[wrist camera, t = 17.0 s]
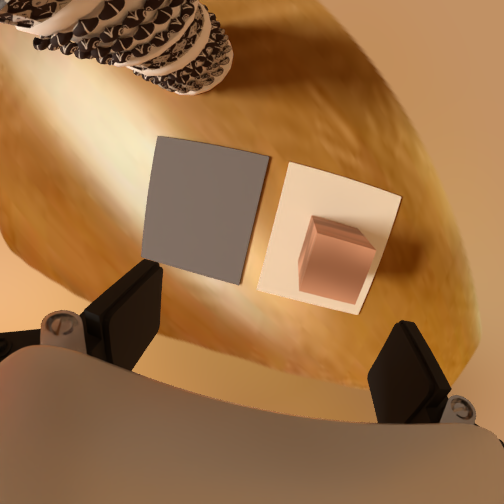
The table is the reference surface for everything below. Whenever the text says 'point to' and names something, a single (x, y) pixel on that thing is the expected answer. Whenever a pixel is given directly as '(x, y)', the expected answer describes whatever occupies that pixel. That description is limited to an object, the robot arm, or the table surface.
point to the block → (334, 260)
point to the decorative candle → (132, 37)
